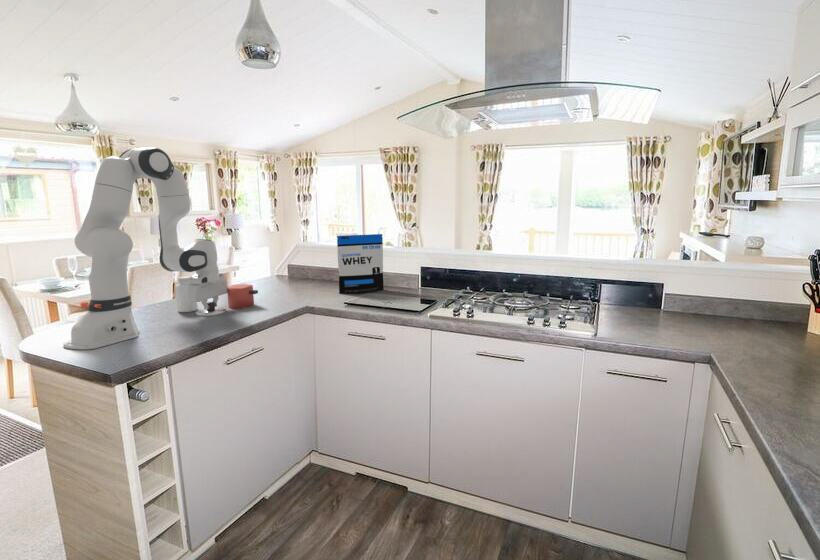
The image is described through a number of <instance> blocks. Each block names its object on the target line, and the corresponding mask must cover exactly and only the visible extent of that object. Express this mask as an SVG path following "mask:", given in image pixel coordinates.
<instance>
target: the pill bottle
mask: <svg viewBox="0 0 820 560" xmlns="http://www.w3.org/2000/svg"><path fill="white" fill-rule="evenodd" d="M190 277H191V276H180V277H178V278H177V279H178V281H177V282H178V283H177V284H176V285H175V298H176V305H177V311H178V312H180V313H191V312H196V311H198V310H199V309H198V308H199V307H198V306H199V305H198V302H190V300H189V297H188V286H189V284H188V283H187V279H188V278H190Z"/></svg>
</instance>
